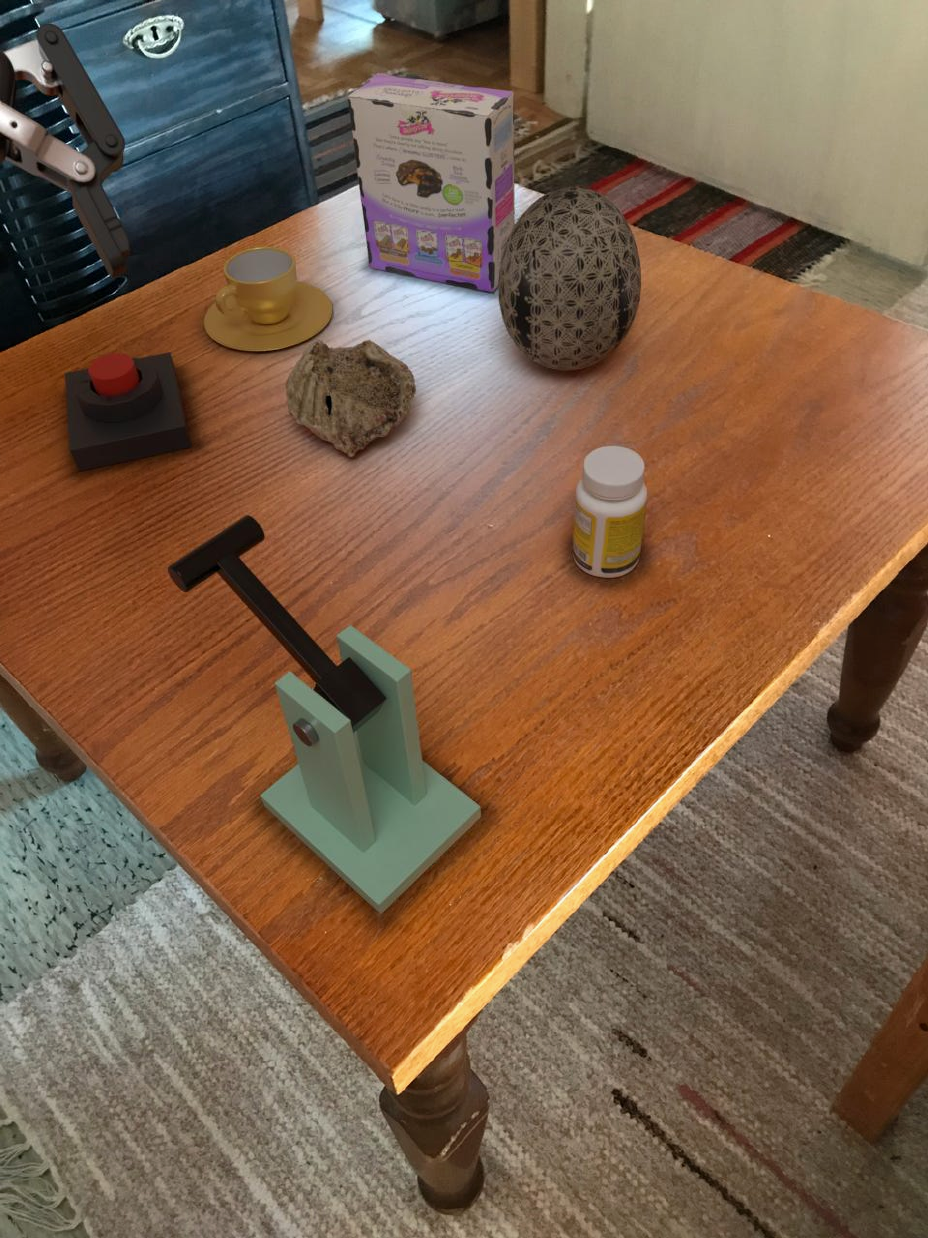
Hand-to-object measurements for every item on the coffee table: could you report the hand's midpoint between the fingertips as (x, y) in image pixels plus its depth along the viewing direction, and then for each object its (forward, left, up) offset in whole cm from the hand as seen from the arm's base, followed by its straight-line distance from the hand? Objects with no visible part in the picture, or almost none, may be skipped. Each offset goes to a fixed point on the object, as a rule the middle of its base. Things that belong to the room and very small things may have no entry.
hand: (33, 306), depth 45 cm
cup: (-4, +41, -26) cm, 49 cm away
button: (-12, +25, -23) cm, 36 cm away
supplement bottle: (+28, +12, -26) cm, 40 cm away
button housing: (-12, +25, -26) cm, 38 cm away
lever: (+11, -7, -14) cm, 19 cm away
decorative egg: (+24, +36, -26) cm, 51 cm away
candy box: (+11, +51, -26) cm, 58 cm away
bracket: (+15, -10, -26) cm, 32 cm away
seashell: (+7, +26, -26) cm, 38 cm away
